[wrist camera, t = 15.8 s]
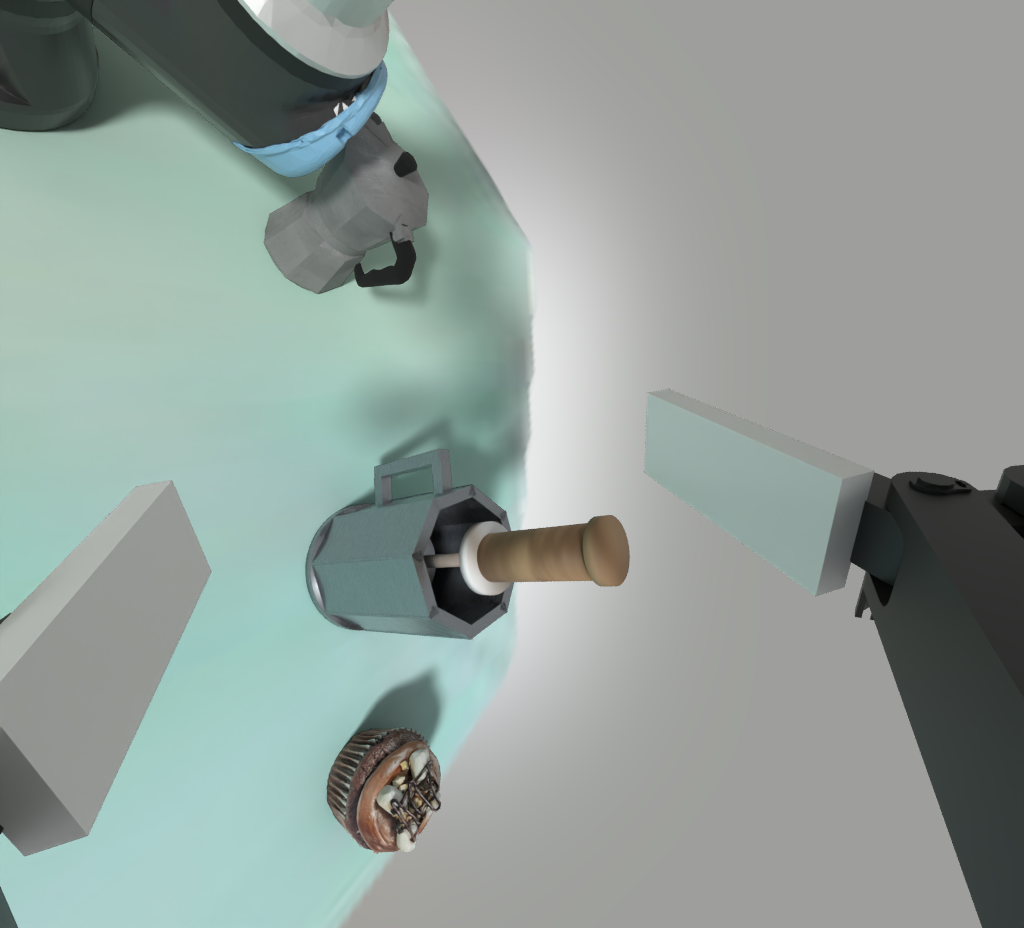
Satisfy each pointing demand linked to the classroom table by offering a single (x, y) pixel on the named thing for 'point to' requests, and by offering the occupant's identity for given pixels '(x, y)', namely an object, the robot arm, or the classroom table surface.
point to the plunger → (537, 555)
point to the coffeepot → (352, 215)
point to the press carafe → (403, 558)
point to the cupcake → (385, 788)
